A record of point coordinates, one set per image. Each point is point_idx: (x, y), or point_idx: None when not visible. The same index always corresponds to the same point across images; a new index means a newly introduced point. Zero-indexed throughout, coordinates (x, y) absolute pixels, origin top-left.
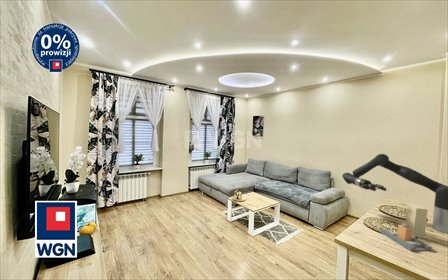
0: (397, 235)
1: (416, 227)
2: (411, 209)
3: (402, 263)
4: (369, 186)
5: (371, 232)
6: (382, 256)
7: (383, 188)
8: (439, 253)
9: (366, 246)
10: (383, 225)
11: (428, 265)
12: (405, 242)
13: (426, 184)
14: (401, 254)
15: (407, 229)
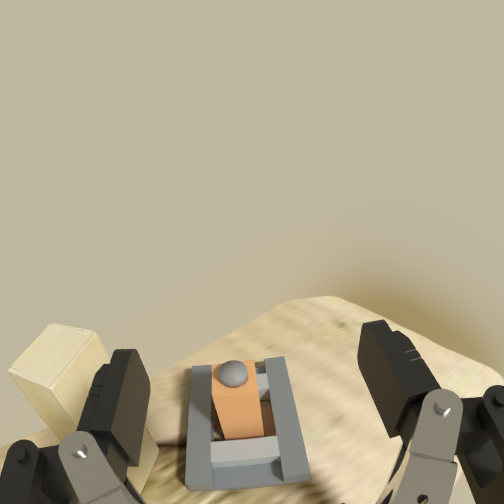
0: (262, 425)
1: None
2: (86, 380)
3: (360, 317)
4: (452, 399)
5: (362, 472)
6: (401, 329)
7: (132, 392)
8: (184, 366)
9: (432, 361)
10: None
11: (289, 321)
12: (276, 380)
13: None
14: (334, 348)
15: (244, 363)
